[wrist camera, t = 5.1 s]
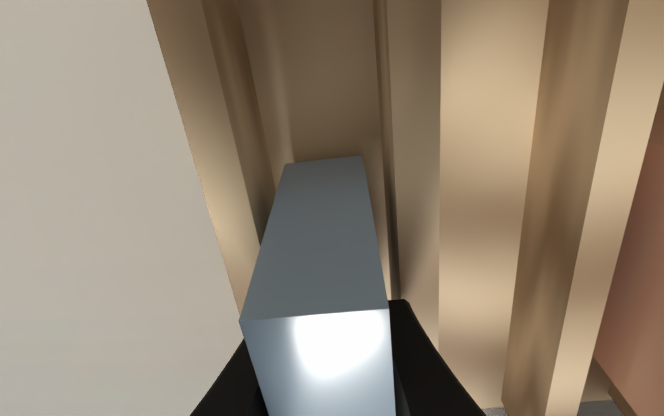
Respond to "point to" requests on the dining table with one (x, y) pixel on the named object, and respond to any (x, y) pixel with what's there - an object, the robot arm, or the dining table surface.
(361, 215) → the slate plate
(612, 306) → the salmon pink block
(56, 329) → the dining table surface
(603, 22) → the dish rack
